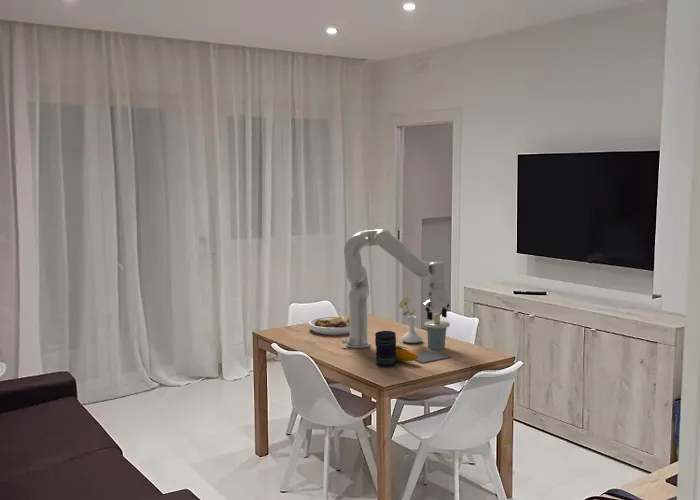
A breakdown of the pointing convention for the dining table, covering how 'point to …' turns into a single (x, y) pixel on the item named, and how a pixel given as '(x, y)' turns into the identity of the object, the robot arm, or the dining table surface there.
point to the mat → (430, 356)
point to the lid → (437, 322)
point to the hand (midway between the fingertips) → (436, 318)
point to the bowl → (330, 325)
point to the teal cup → (436, 338)
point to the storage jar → (385, 349)
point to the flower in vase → (411, 334)
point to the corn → (404, 354)
